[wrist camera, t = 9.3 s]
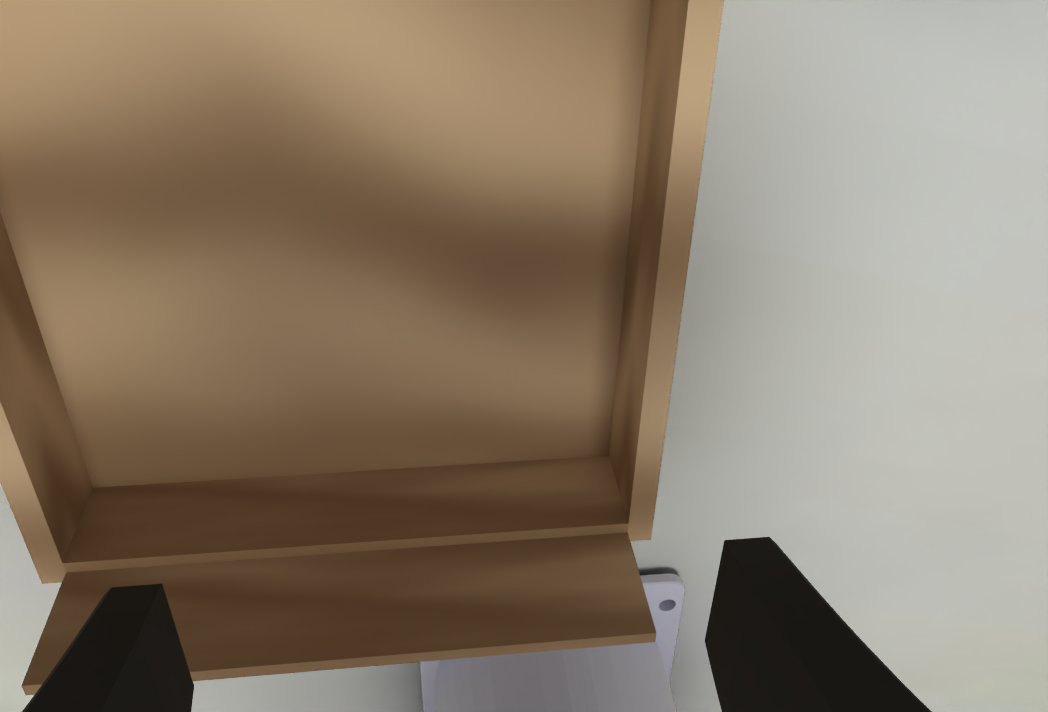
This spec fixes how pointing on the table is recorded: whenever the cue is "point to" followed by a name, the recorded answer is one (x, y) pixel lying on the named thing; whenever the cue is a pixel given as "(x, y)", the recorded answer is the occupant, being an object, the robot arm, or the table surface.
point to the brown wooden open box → (345, 316)
